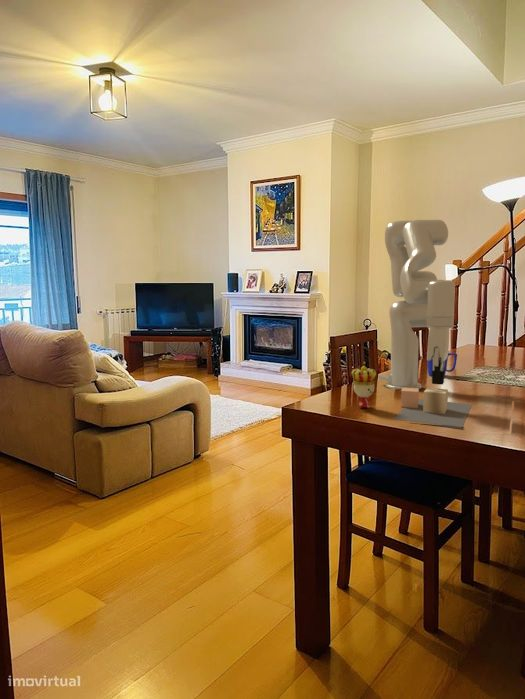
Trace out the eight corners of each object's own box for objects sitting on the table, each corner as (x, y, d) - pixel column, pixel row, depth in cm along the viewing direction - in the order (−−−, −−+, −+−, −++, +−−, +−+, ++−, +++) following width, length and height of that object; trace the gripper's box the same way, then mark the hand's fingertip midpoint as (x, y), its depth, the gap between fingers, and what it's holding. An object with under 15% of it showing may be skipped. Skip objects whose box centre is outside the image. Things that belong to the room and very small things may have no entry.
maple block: (426, 407, 155) (422, 411, 149) (427, 387, 154) (423, 391, 149) (447, 409, 152) (444, 413, 147) (448, 389, 151) (445, 393, 146)
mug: (459, 377, 205) (460, 352, 204) (429, 377, 206) (430, 353, 204) (452, 373, 213) (453, 350, 212) (423, 374, 214) (424, 350, 212)
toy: (370, 414, 150) (371, 363, 148) (347, 411, 153) (348, 361, 151) (378, 408, 156) (379, 360, 154) (356, 406, 159) (357, 358, 157)
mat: (392, 421, 142) (393, 419, 141) (412, 400, 166) (412, 398, 166) (462, 429, 133) (462, 427, 133) (471, 406, 158) (472, 404, 158)
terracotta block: (400, 406, 155) (401, 390, 155) (401, 403, 160) (401, 387, 159) (418, 408, 154) (418, 391, 153) (418, 404, 159) (418, 388, 158)
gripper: (430, 320, 159) (428, 378, 161) (422, 324, 145) (420, 387, 148) (456, 321, 155) (454, 380, 158) (450, 324, 142) (447, 389, 144)
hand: (437, 383), depth 153 cm, fingers closed
